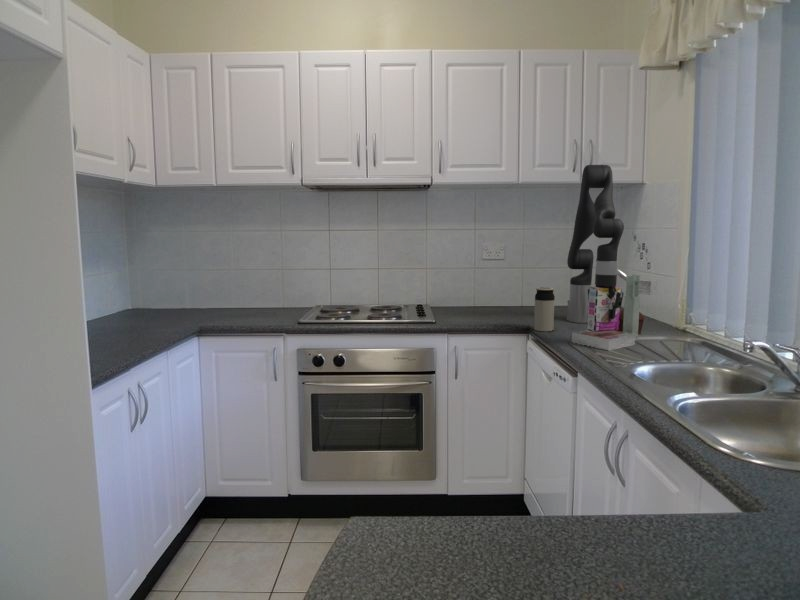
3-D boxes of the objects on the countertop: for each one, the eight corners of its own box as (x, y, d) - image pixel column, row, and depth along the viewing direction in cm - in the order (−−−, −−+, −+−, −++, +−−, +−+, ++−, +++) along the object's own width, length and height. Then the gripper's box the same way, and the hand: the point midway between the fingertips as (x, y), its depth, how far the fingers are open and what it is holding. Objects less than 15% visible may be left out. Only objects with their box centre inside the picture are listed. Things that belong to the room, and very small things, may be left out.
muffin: (616, 329, 237) (617, 306, 236) (644, 331, 232) (645, 308, 231) (612, 334, 227) (613, 310, 226) (642, 337, 222) (643, 312, 220)
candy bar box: (595, 332, 205) (596, 288, 203) (586, 330, 210) (588, 286, 208) (620, 330, 209) (622, 287, 206) (611, 328, 213) (613, 285, 211)
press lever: (592, 288, 228) (593, 254, 226) (599, 287, 230) (601, 253, 228) (649, 294, 207) (651, 257, 205) (656, 293, 210) (659, 256, 208)
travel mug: (540, 332, 232) (541, 289, 229) (530, 329, 240) (531, 287, 237) (557, 331, 234) (558, 288, 232) (547, 327, 242) (548, 286, 239)
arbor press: (571, 342, 212) (574, 277, 208) (613, 334, 227) (616, 273, 223) (608, 350, 199) (612, 280, 195) (649, 341, 214) (653, 276, 210)
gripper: (583, 272, 210) (581, 316, 212) (617, 275, 198) (615, 321, 201) (595, 271, 214) (593, 314, 217) (629, 273, 203) (627, 319, 205)
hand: (604, 317), depth 209 cm, fingers closed on candy bar box, 5 cm apart
